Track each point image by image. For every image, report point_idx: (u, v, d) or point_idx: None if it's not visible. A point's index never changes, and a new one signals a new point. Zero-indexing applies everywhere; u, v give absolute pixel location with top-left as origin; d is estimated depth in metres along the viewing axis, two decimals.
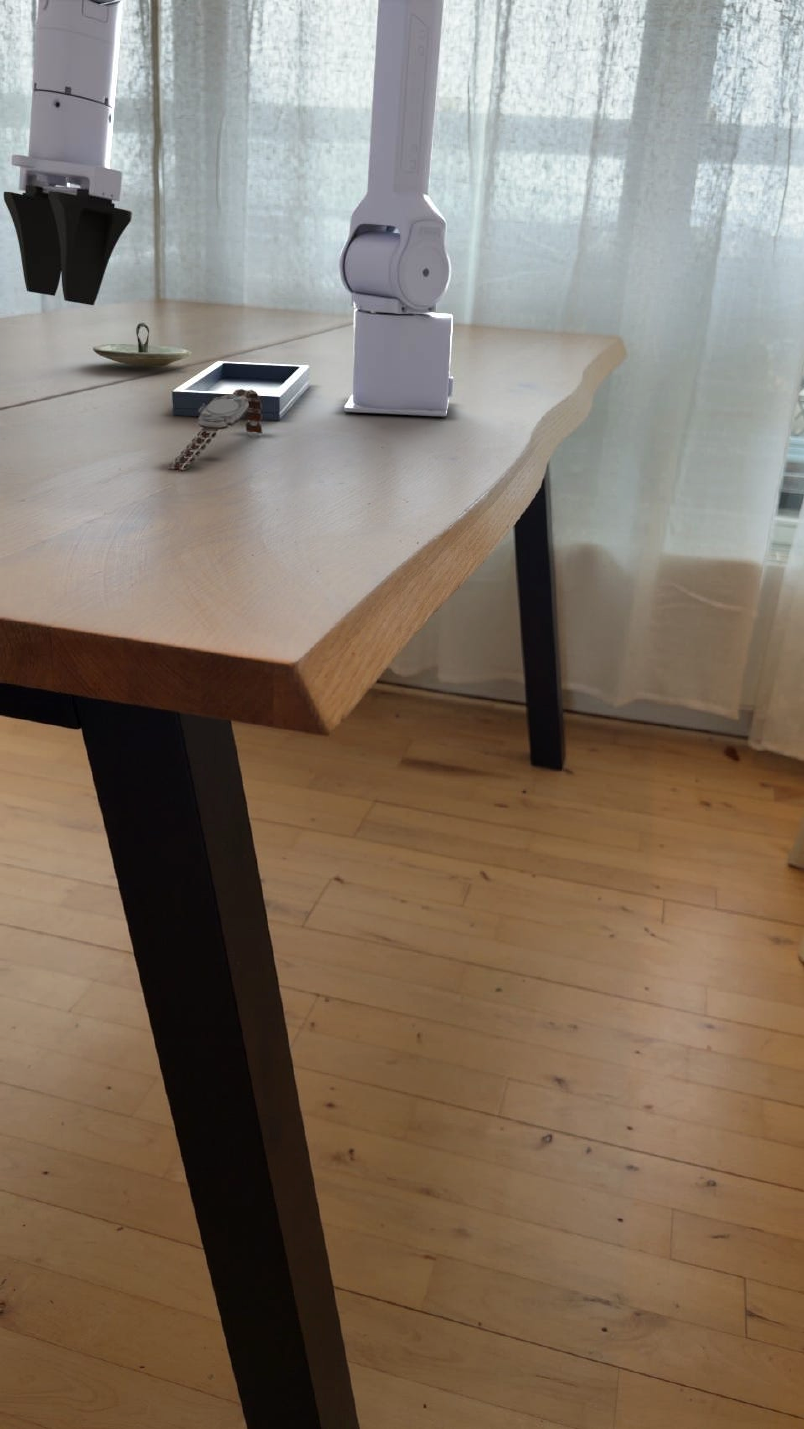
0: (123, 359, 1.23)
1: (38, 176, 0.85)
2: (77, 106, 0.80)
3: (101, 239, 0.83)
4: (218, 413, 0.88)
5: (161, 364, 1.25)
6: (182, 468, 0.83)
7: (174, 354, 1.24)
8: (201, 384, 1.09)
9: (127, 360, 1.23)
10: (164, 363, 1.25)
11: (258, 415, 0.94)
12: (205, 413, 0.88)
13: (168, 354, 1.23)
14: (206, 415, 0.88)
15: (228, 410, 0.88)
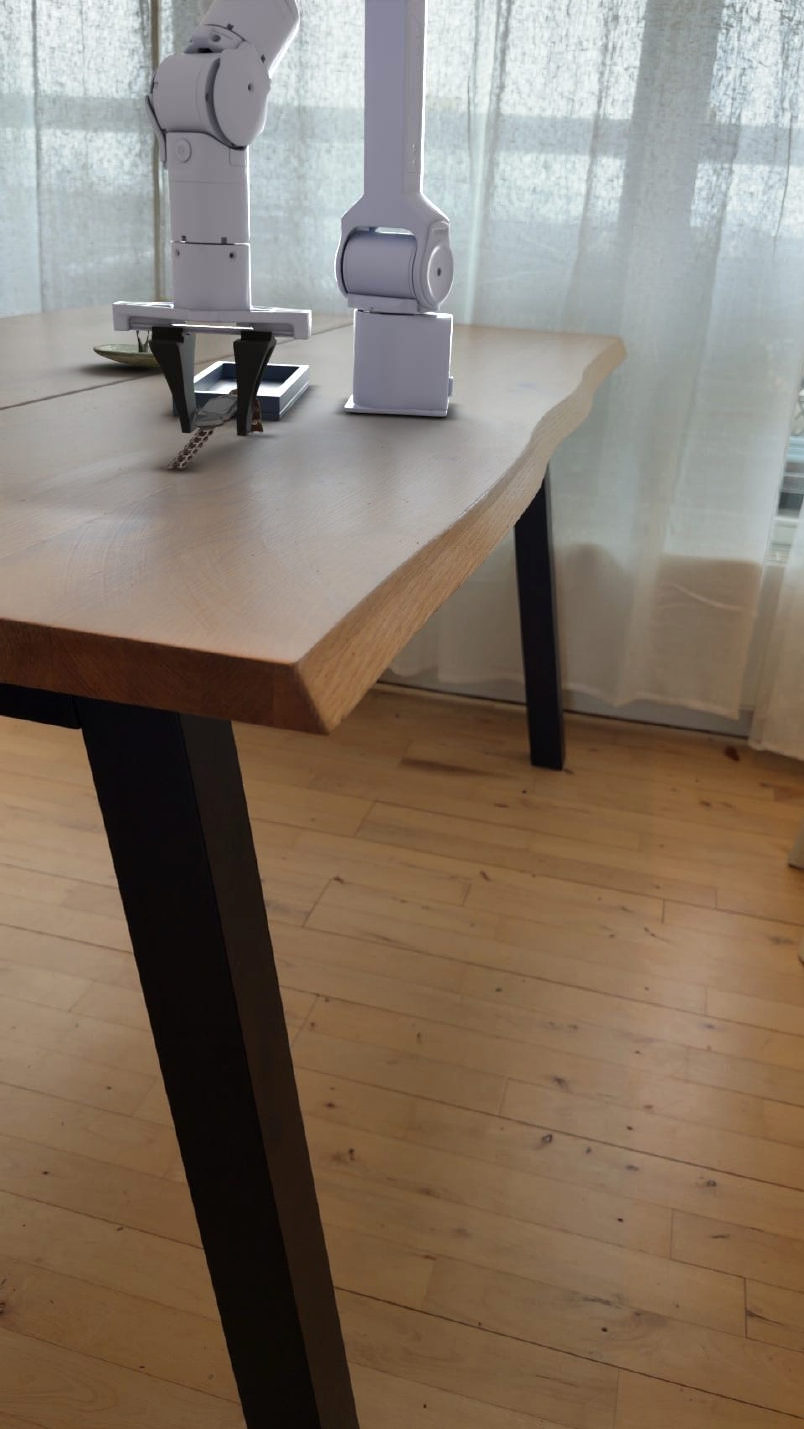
0: (123, 359, 1.23)
1: (176, 320, 0.84)
2: (245, 253, 0.82)
3: None
4: (214, 412, 0.88)
5: None
6: (180, 466, 0.82)
7: None
8: (201, 384, 1.09)
9: (127, 360, 1.23)
10: None
11: (257, 414, 0.94)
12: (201, 413, 0.88)
13: None
14: (202, 415, 0.88)
15: (223, 408, 0.88)
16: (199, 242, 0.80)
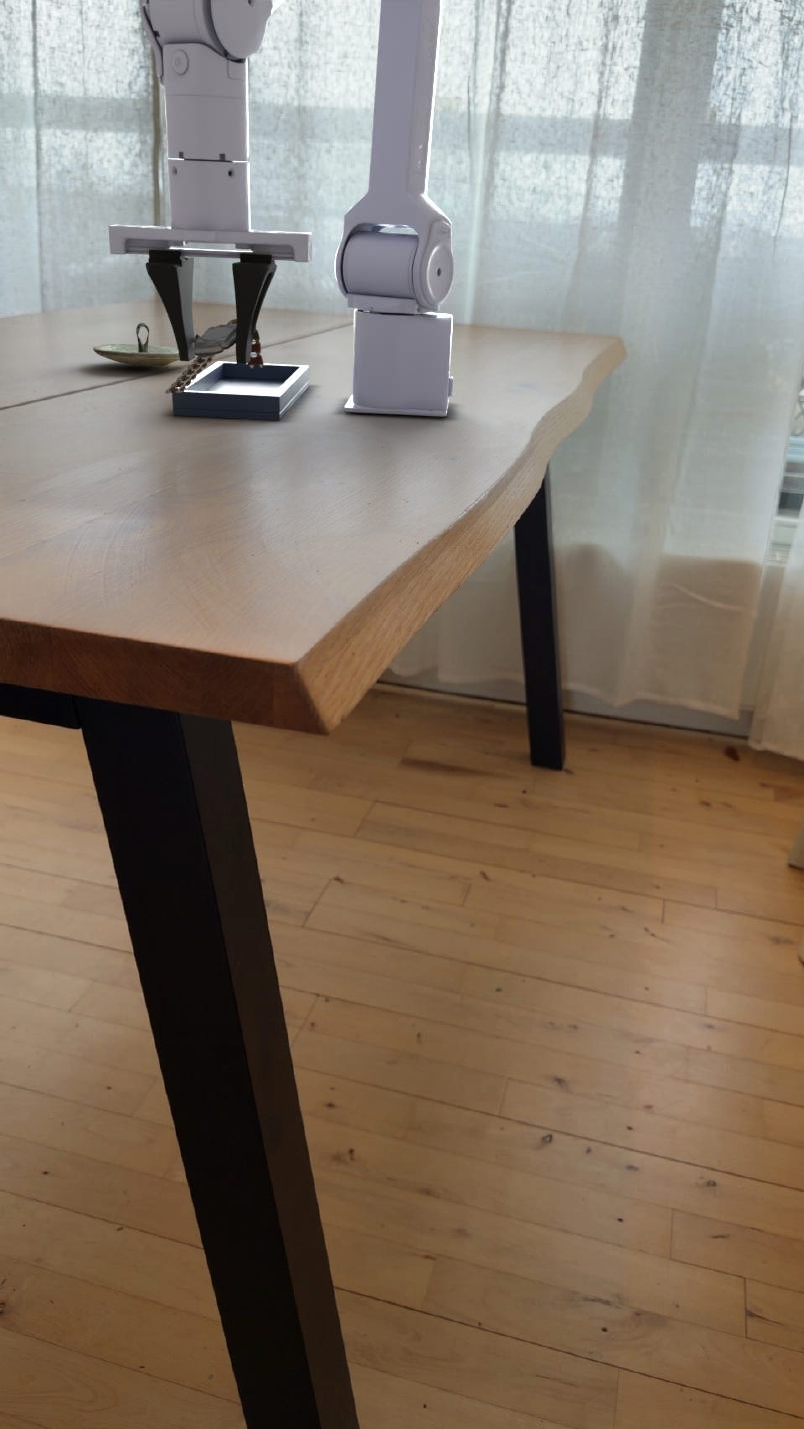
0: (123, 359, 1.23)
1: (173, 242, 0.82)
2: (244, 172, 0.80)
3: None
4: (212, 339, 0.86)
5: (161, 364, 1.25)
6: (179, 391, 0.81)
7: (174, 354, 1.24)
8: (201, 384, 1.09)
9: (127, 360, 1.23)
10: (164, 363, 1.25)
11: (257, 346, 0.92)
12: (199, 341, 0.86)
13: (168, 354, 1.23)
14: (201, 343, 0.86)
15: (222, 335, 0.86)
16: (197, 159, 0.78)
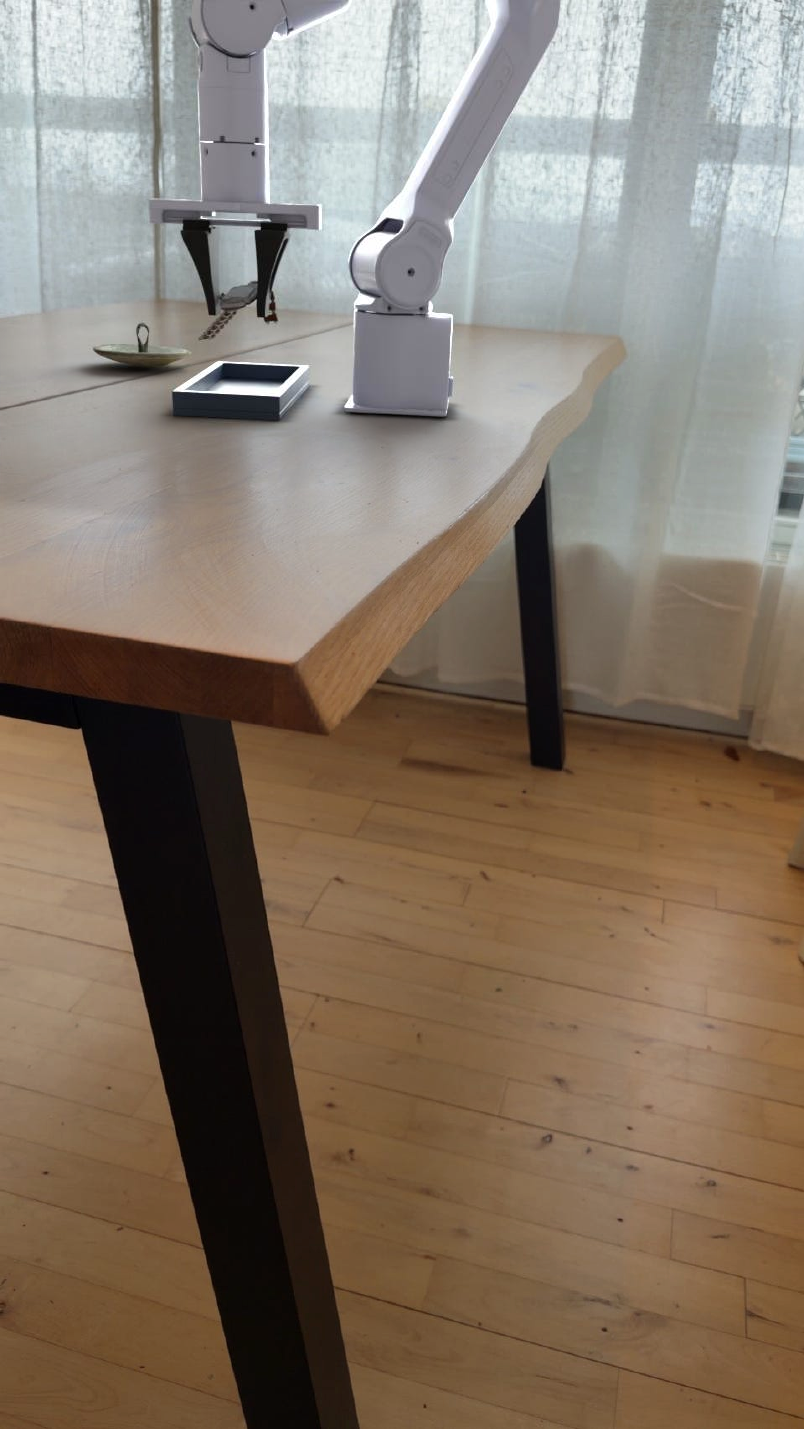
0: (123, 359, 1.23)
1: (204, 212, 0.97)
2: (265, 152, 0.95)
3: None
4: (236, 296, 1.00)
5: (161, 364, 1.25)
6: (210, 337, 0.95)
7: (174, 354, 1.24)
8: (201, 384, 1.09)
9: (127, 360, 1.23)
10: (164, 363, 1.25)
11: (273, 305, 1.07)
12: (225, 298, 1.00)
13: (168, 354, 1.23)
14: (226, 300, 1.00)
15: (245, 293, 1.00)
16: (225, 141, 0.93)
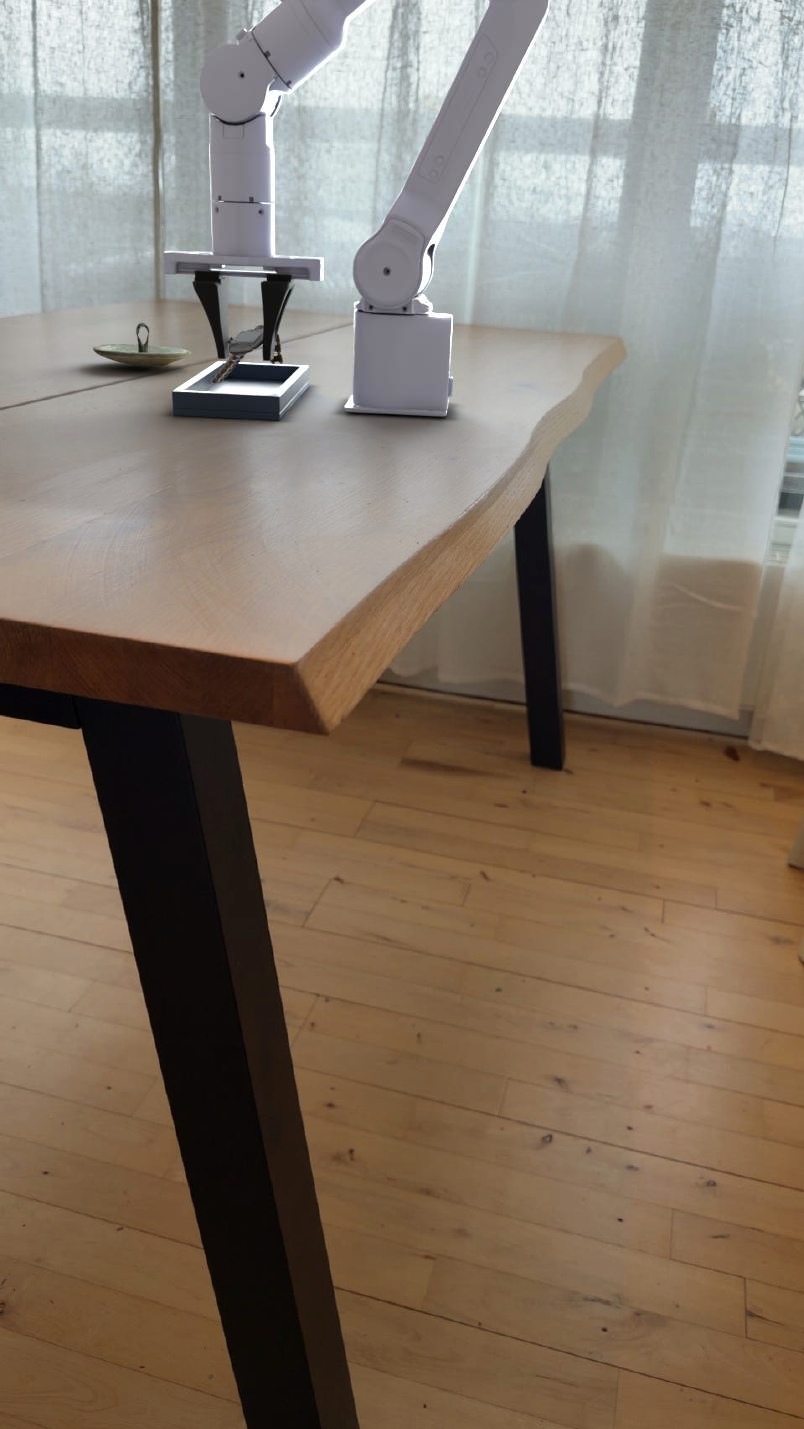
0: (123, 359, 1.23)
1: (214, 265, 1.04)
2: (271, 210, 1.03)
3: None
4: (244, 341, 1.08)
5: (161, 364, 1.25)
6: (219, 381, 1.03)
7: (174, 354, 1.24)
8: (201, 384, 1.09)
9: (127, 360, 1.23)
10: (164, 363, 1.25)
11: (278, 346, 1.14)
12: (233, 343, 1.08)
13: (168, 354, 1.23)
14: (234, 344, 1.08)
15: (251, 338, 1.08)
16: (234, 201, 1.01)
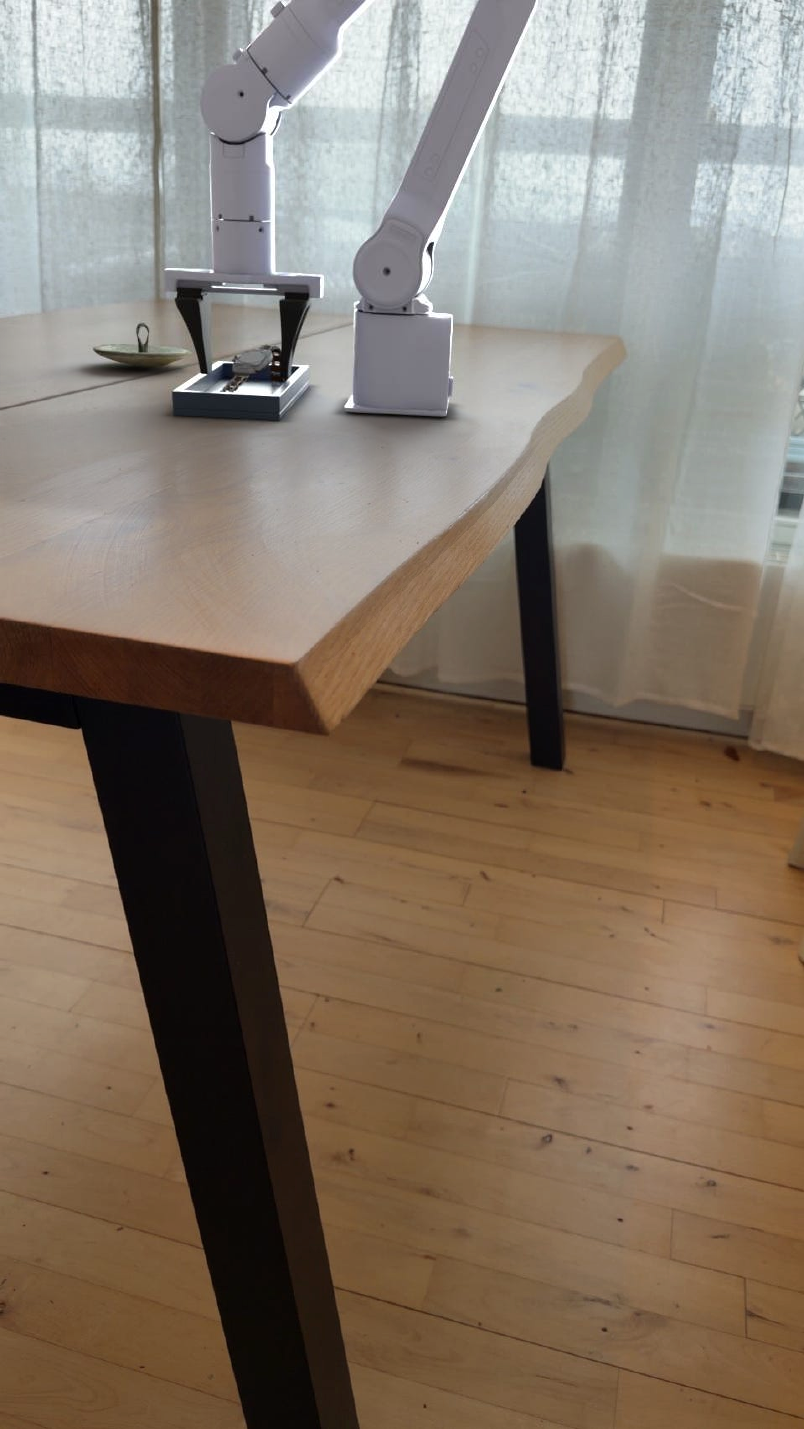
0: (123, 359, 1.23)
1: (215, 282, 1.05)
2: (271, 228, 1.03)
3: None
4: (248, 362, 1.09)
5: (161, 364, 1.25)
6: None
7: (174, 354, 1.24)
8: (201, 384, 1.09)
9: (127, 360, 1.23)
10: (164, 363, 1.25)
11: None
12: (237, 362, 1.09)
13: (168, 354, 1.23)
14: (238, 364, 1.09)
15: (256, 360, 1.09)
16: (235, 219, 1.01)
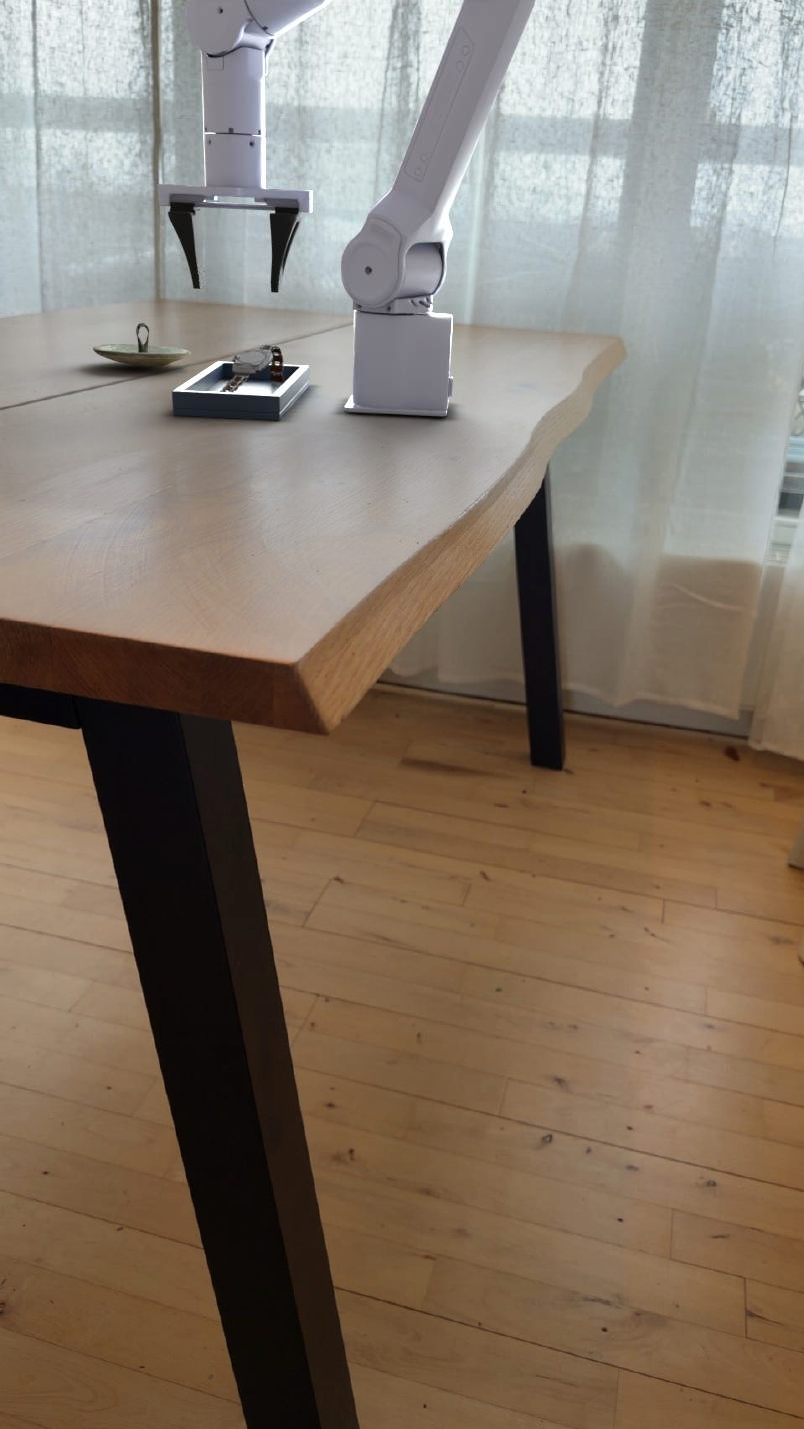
0: (123, 359, 1.23)
1: (207, 196, 1.08)
2: (262, 143, 1.06)
3: None
4: (248, 362, 1.09)
5: (161, 364, 1.25)
6: None
7: (174, 354, 1.24)
8: (201, 384, 1.09)
9: (127, 360, 1.23)
10: (164, 363, 1.25)
11: (280, 367, 1.15)
12: (238, 362, 1.09)
13: (168, 354, 1.23)
14: (238, 364, 1.09)
15: (256, 360, 1.09)
16: (226, 132, 1.04)
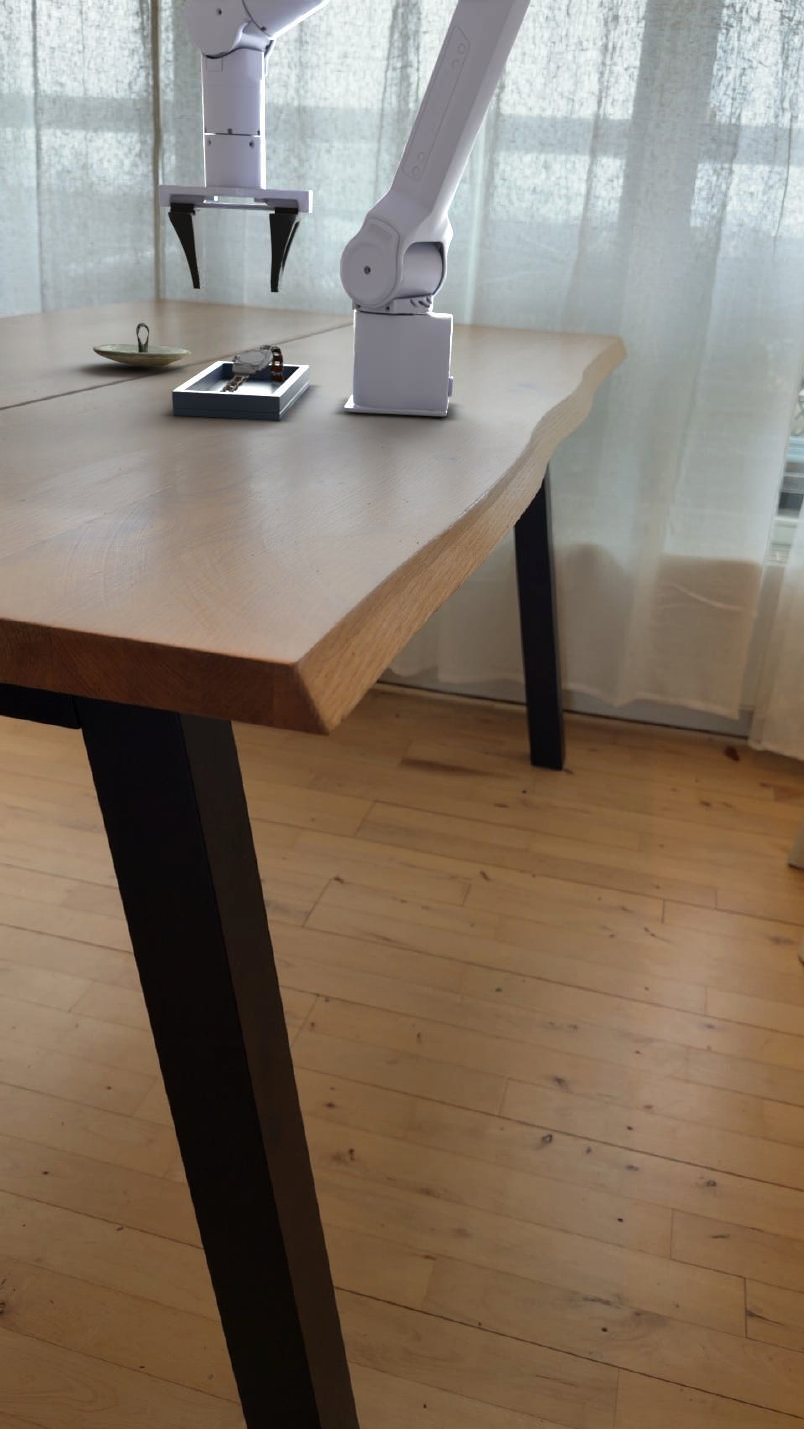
0: (123, 359, 1.23)
1: (207, 197, 1.08)
2: (261, 143, 1.07)
3: None
4: (248, 362, 1.09)
5: (161, 364, 1.25)
6: None
7: (174, 354, 1.24)
8: (201, 384, 1.09)
9: (127, 360, 1.23)
10: (164, 363, 1.25)
11: (280, 367, 1.15)
12: (238, 362, 1.09)
13: (168, 354, 1.23)
14: (238, 364, 1.09)
15: (256, 360, 1.09)
16: (226, 133, 1.05)
